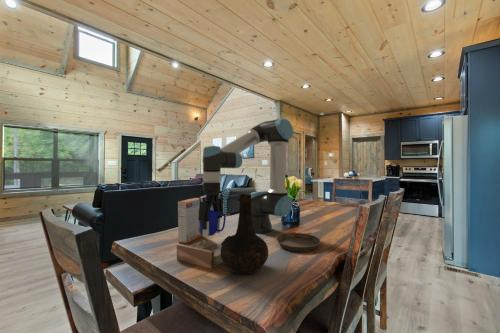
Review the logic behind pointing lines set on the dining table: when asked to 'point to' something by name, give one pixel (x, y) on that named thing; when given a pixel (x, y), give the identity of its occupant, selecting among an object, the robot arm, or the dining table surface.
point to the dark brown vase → (244, 243)
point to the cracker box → (188, 220)
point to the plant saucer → (298, 241)
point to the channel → (198, 255)
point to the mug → (213, 222)
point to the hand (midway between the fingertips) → (211, 234)
